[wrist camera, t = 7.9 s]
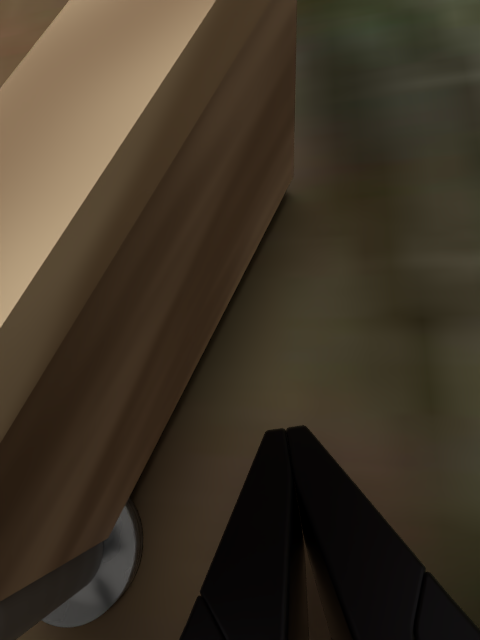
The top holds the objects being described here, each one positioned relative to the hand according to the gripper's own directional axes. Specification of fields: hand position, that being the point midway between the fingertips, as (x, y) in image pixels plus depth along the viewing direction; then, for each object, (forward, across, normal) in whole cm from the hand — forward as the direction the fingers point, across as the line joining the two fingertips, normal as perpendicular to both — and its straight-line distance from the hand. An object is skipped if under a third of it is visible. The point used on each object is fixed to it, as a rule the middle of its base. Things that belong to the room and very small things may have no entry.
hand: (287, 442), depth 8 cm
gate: (+6, +4, +1) cm, 7 cm away
